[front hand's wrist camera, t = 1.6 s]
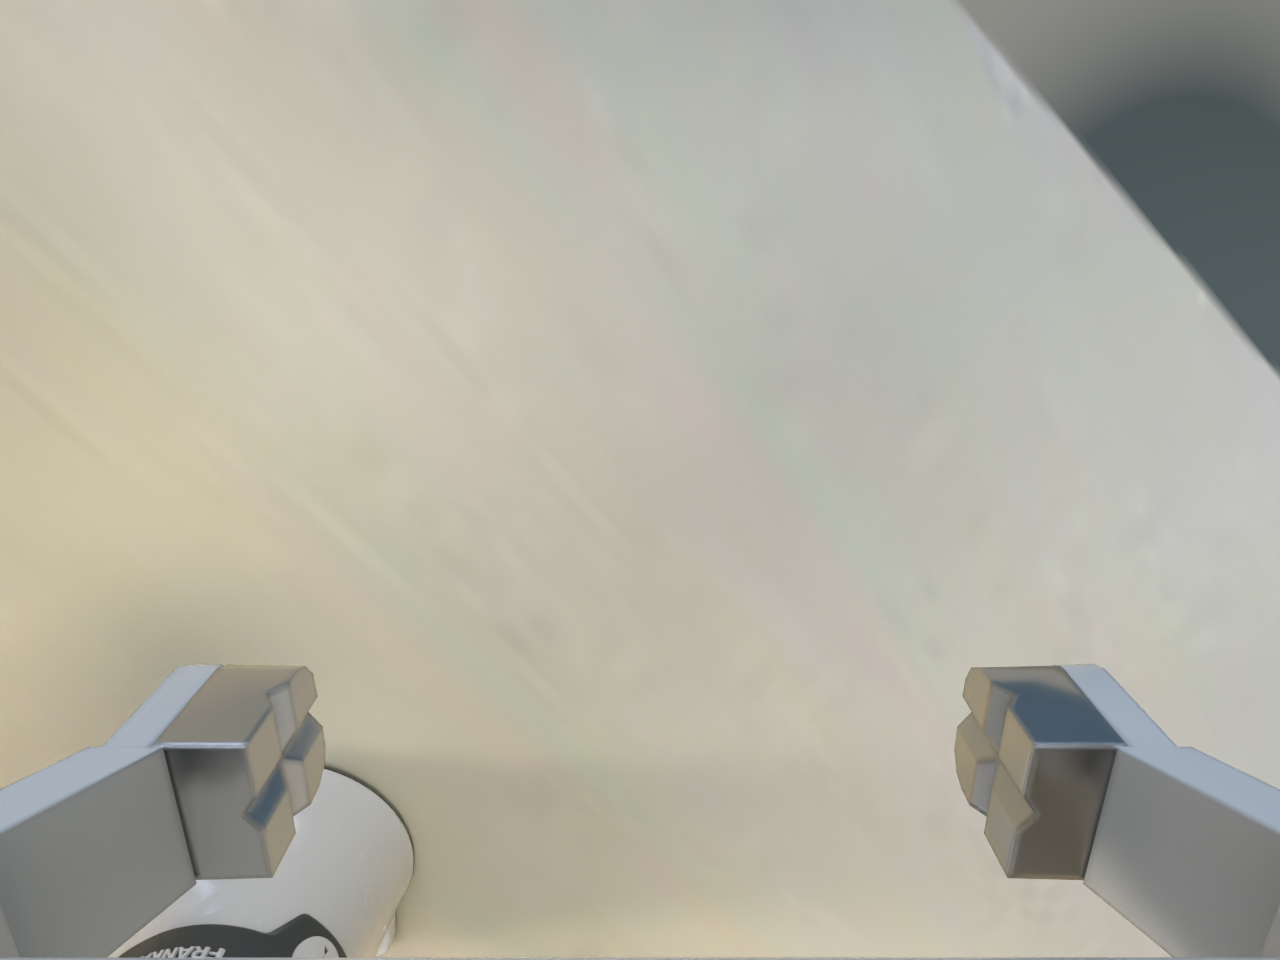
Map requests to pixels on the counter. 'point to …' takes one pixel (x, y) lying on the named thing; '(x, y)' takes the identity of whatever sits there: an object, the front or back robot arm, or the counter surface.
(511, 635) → the counter surface
